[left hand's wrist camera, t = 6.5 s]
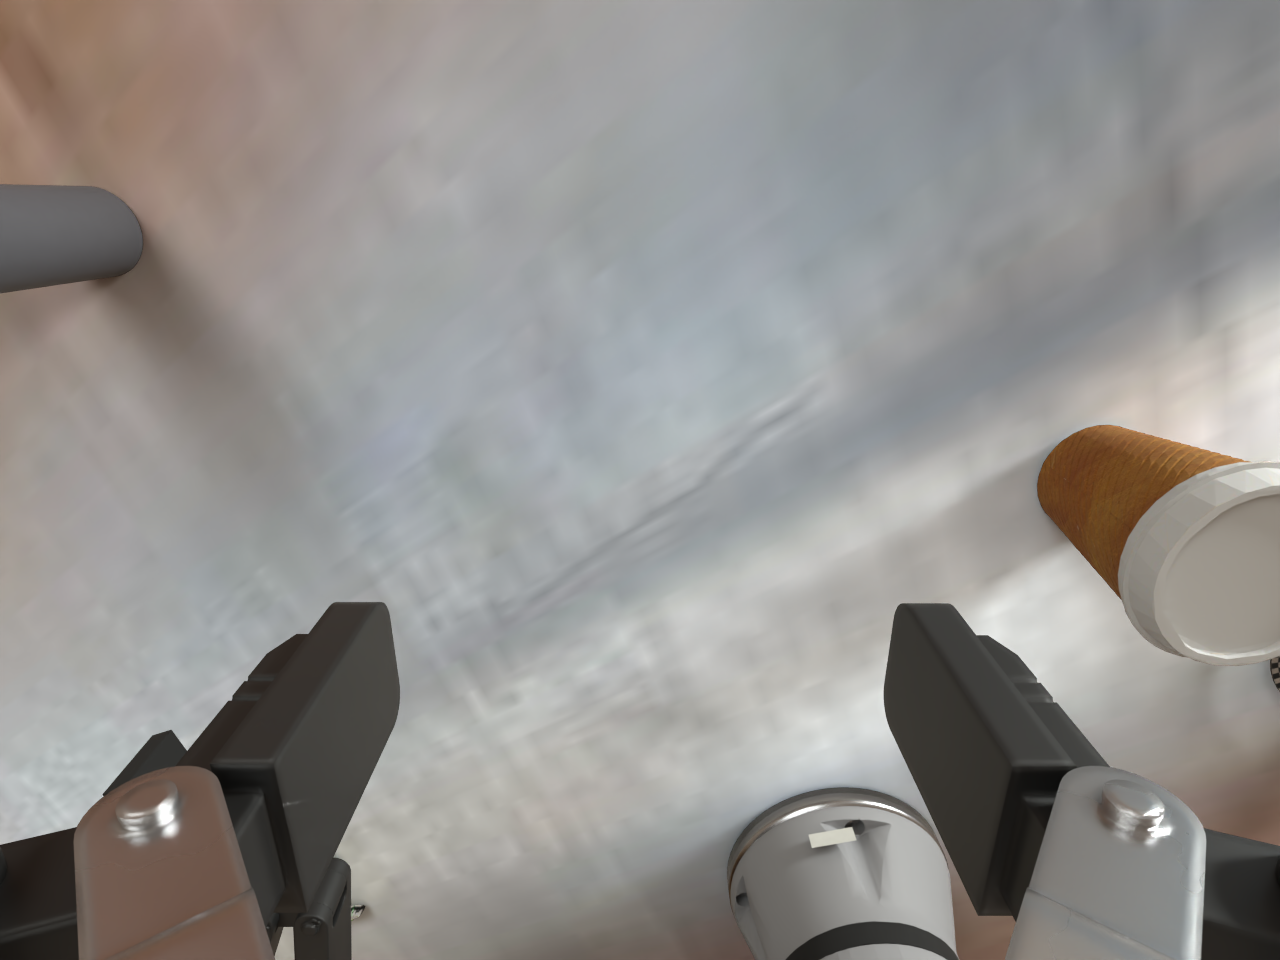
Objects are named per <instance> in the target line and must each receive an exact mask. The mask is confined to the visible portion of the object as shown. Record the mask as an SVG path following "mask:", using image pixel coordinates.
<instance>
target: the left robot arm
mask: <svg viewBox="0 0 1280 960" xmlns="http://www.w3.org/2000/svg"><path fill="white" fill-rule="evenodd" d="M399 701H400V685H399V677H398V670H397V663H396V656H395V649H394V642H393V635H392V628H391V621H390V615H389V611H388V608H387V606H386V605H385V604H384V603H382V602H335V603H333V604H331V605H330V606H329V608H328V609H327V610H326V612H325V613H324V614H323V616H322V617H321V618H320V619H319V621H318V622H317V623H316V625H315V626H314V627H313V629H312V630H311V631H310V633H309V634H296V635H294V636H293V637H291V638H290V639H288V640H287V641H285V642H284V643H282V644H281V645H279V646H278V647H276V648H275V649H273V650H272V651H270V652H269V653H267V654H266V656H265V657H264V658H263V659H262V660H261V662H260V663H259V664H258V665H257V667H256V668H255V669H254V670H253V671H252V673H251V674H250V675H249V676H248V681H244V682H243V684H242V685H241V686H240V687H239V689H238V690H237V691H236V692H235V693H234V695H233V699H232V701H228V702H227V703H226V704H225V706H224V707H223V708H222V709H221V711H220V712H219V713H218V714H217V715H216V717H215V718H214V719H213V720H212V722H211V723H210V724H209V725H208V726H207V728H206V729H205V730H204V731H203V733H202V734H201V735H200V736H199V737H198V739H197V740H196V741H195V742H194V744H193V745H192V746H191V747H190V748H189V750H188V751H187V752H186V753H185V755H184V756H183V757H182V758H181V759H180V761H179V762H178V763H177V764H176V766H175V767H169V768H164V769H160V770H156V771H153V772H150V773H147V774H144V775H141V776H139V777H137V778H134V779H132V780H130V781H128V782H126V783H124V784H122V785H120V786H119V787H117V788H116V789H114V790H112V791H111V792H109V793H108V794H107V795H105V796H104V797H103V798H101V799H100V800H99V801H98V802H97V803H96V804H94V805H93V806H92V807H91V808H90V809H89V810H88V812H87V813H86V814H85V815H84V816H83V818H82V819H81V821H80V823H79V824H78V826H77V827H75V828H71V829H67V830H63V831H58V832H54V833H50V834H46V835H41V836H37V837H33V838H28V839H24V840H20V841H15V842H11V843H7V844H2V845H0V960H275V958H274V954H273V951H272V948H271V944H270V941H269V938H268V935H267V931H266V926H267V924H268V922H269V920H270V918H271V916H272V914H273V913H307V912H308V910H309V908H310V906H311V904H312V902H313V900H314V897H315V895H316V893H317V891H318V889H319V887H320V884H321V882H322V880H323V878H324V876H325V874H326V872H327V869H328V867H329V865H330V863H331V861H332V859H333V857H334V854H335V852H336V850H337V848H338V846H339V844H340V842H341V839H342V837H343V835H344V833H345V831H346V829H347V826H348V824H349V822H350V820H351V818H352V816H353V814H354V811H355V809H356V807H357V805H358V803H359V801H360V799H361V796H362V794H363V792H364V790H365V788H366V786H367V784H368V781H369V779H370V777H371V775H372V773H373V771H374V768H375V766H376V764H377V762H378V760H379V758H380V756H381V753H382V751H383V749H384V747H385V745H386V743H387V741H388V738H389V736H390V734H391V732H392V730H393V728H394V725H395V722H396V719H397V715H398V710H399ZM884 706H885V713H886V718H887V722H888V725H889V727H890V730H891V732H892V734H893V736H894V738H895V740H896V742H897V745H898V747H899V749H900V751H901V753H902V755H903V757H904V759H905V762H906V764H907V766H908V768H909V770H910V772H911V774H912V776H913V779H914V781H915V783H916V785H917V787H918V789H919V791H920V793H921V796H922V798H923V800H924V802H925V804H926V806H927V808H928V810H929V812H930V815H931V817H932V819H933V821H934V823H935V825H936V827H937V829H938V832H939V834H940V836H941V838H942V840H943V842H944V844H945V846H946V849H947V851H948V853H949V855H950V857H951V859H952V861H953V863H954V866H955V868H956V870H957V872H958V874H959V876H960V878H961V880H962V883H963V885H964V887H965V889H966V891H967V893H968V895H969V897H970V900H971V902H972V904H973V906H974V908H975V910H976V912H977V914H978V916H1013V917H1014V919H1015V921H1016V925H1015V928H1014V931H1013V935H1012V938H1011V941H1010V944H1009V948H1008V951H1007V954H1006V958H1005V960H1280V846H1277V845H1273V844H1268V843H1264V842H1260V841H1255V840H1251V839H1247V838H1242V837H1238V836H1234V835H1229V834H1225V833H1221V832H1217V831H1213V830H1209V829H1205V828H1203V826H1202V824H1201V823H1200V821H1199V819H1198V818H1197V816H1196V815H1195V814H1194V813H1193V812H1192V810H1191V809H1190V808H1189V807H1188V806H1187V805H1186V804H1184V803H1183V802H1182V801H1181V800H1180V799H1179V798H1177V797H1176V796H1175V795H1173V794H1172V793H1171V792H1169V791H1168V790H1166V789H1164V788H1163V787H1161V786H1160V785H1158V784H1156V783H1154V782H1152V781H1150V780H1148V779H1146V778H1143V777H1141V776H1139V775H1136V774H1133V773H1130V772H1127V771H1124V770H1120V769H1116V768H1111V767H1110V766H1109V765H1108V764H1107V763H1106V762H1105V760H1104V759H1103V758H1102V757H1101V756H1100V754H1099V753H1098V752H1097V751H1096V750H1095V748H1094V747H1093V746H1092V745H1091V743H1090V742H1089V741H1088V740H1087V739H1086V737H1085V736H1084V735H1083V734H1082V733H1081V731H1080V730H1079V729H1078V728H1077V727H1076V725H1075V724H1074V723H1073V722H1072V720H1071V719H1070V718H1069V717H1068V716H1067V714H1066V713H1065V712H1064V711H1063V710H1062V708H1061V707H1060V706H1059V705H1058V704H1057V703H1053V697H1052V696H1051V695H1050V694H1049V693H1048V691H1047V690H1046V689H1045V688H1044V687H1043V685H1042V684H1041V683H1037V678H1036V677H1035V676H1034V674H1033V673H1032V672H1031V671H1030V670H1029V668H1028V667H1027V666H1026V665H1025V664H1024V662H1023V661H1022V660H1021V659H1020V658H1019V656H1018V655H1016V654H1015V653H1013V652H1012V651H1010V650H1009V649H1007V648H1006V647H1004V646H1003V645H1001V644H1000V643H998V642H997V641H995V640H994V639H992V638H991V637H989V636H988V635H975V633H974V632H973V631H972V629H971V628H970V627H969V625H968V624H967V623H966V622H965V620H964V619H963V618H962V616H961V615H960V614H959V612H958V611H957V610H956V609H955V607H954V606H953V605H951V604H900V605H899V606H898V607H897V609H896V612H895V615H894V621H893V628H892V635H891V642H890V649H889V656H888V662H887V669H886V676H885V683H884Z"/></svg>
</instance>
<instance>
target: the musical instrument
mask: <svg viewBox="0 0 1280 960" xmlns="http://www.w3.org/2000/svg"><path fill="white" fill-rule="evenodd" d="M1270 668H1271V674H1272V678H1273V681H1274V683H1275V685H1276V687H1277V689H1278V690H1279V691H1280V656H1278V657H1275V658H1272V659H1271V660H1270Z"/></svg>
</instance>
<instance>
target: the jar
mask: <svg viewBox="0 0 1280 960" xmlns="http://www.w3.org/2000/svg"><path fill="white" fill-rule="evenodd" d="M142 247H143V238H142V232H141V229H140V226H139V223H138V221H137V219H136V217H135V215H134V214H133V213H132V211H131V210H130V209H129V207H128V206H127V205H126V204H125V203H124V202H123V201H122V200H120V199H119V198H118V197H117V196H115V195H113V194H112V193H110V192H108V191H106V190H104V189H101V188H97V187H91V186H53V185H7V184H0V293H6V292H12V291H19V290H26V289H33V288H39V287H46V286H53V285H60V284H66V283H73V282H80V281H87V280H93V279H100V278H107V277H113V276H119V275H122V274H125V273H126V272H128V271H130V270H131V269H132V268H133V267H134V266H135V265H136V264H137V262H138V260H139V258H140V256H141V253H142Z"/></svg>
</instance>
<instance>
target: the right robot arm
mask: <svg viewBox="0 0 1280 960" xmlns="http://www.w3.org/2000/svg"><path fill="white" fill-rule="evenodd" d="M186 752H187V750H186V749H185V748H184V746H183V745H182V744H181V742H180V741H179V740H178V738H177V737H176V735H175V734H174V733H173V731H172V730H169V731H166V732H162V733H159V734H156V735H153V736H152V737H151V738H150V739H149V740H148V741H147V743H146V744H145V745H144V746H143V747H142V749H141V750H140V751H139V752H138V753H137V754H136V756H135V757H134V758H133V759H132V760H131V762H130V763H129V764H128V765H127V766H126V767H125V769H124V770H123V771H122V772H121V773H120V775H119V776H118V777H117V778H116V779H115V780H114V782H113V783H112V784H111V785H110V786H109V788H108V789H107V790H106V791H105V792H104V793H103V796H105V795H107V794H108V793H109V792H111V791H112V790H114V789H116V788H117V787H119V786H120V785H122V784H124V783H126V782H128V781H130V780H132V779H134V778H137V777H139V776H141V775H144V774H147V773H150V772H153V771H156V770H160V769H164V768H169V767H175V766H176V764H177V763H178V762H179V761H180V759H181V758H182V757H183V756H184V755H185V753H186ZM727 881H728V889H729V897H730V904H731V908H732V912H733V914H734V917H735V919H736V922H737V924H738V926H739V928H740V930H741V932H742V934H743V936H744V938H745V940H746V942H747V944H748V946H749V948H750V950H751V952H752V954H753V956H754V958H755V960H959V958H958V956H957V952H956V942H955V930H954V918H953V906H952V894H951V882H950V874H949V868H948V864H947V860H946V858H945V855H944V853H943V850H942V848H941V846H940V844H939V842H938V840H937V837H936V835H935V833H934V832H933V830H932V828H931V826H930V825H929V824H928V822H927V821H926V820H925V819H924V818H923V817H922V816H921V815H920V814H919V813H918V812H917V811H916V810H915V809H913V808H912V807H910V806H909V805H907V804H906V803H904V802H902V801H900V800H899V799H896V798H894V797H892V796H889V795H886V794H883V793H880V792H876V791H872V790H867V789H860V788H828V789H821V790H815V791H811V792H807V793H803V794H800V795H797V796H794V797H791V798H789V799H786V800H784V801H782V802H780V803H778V804H776V805H774V806H772V807H771V808H769V809H768V810H766V811H765V812H763V813H762V814H761V815H759V816H758V817H757V818H756V819H754V820H753V821H752V822H751V823H750V824H749V825H748V826H747V827H746V829H745V830H744V831H743V832H742V834H741V835H740V836H739V838H738V839H737V841H736V843H735V845H734V847H733V849H732V851H731V854H730V857H729V861H728V867H727ZM283 927H293V931H294V951H295V960H351V870H350V866H349V865H348V864H347V863H346V862H345V861H343V860H342V859H338V858H333V859H332V861H331V863H330V865H329V867H328V869H327V872H326V874H325V876H324V878H323V880H322V882H321V884H320V887H319V889H318V891H317V893H316V895H315V897H314V900H313V902H312V904H311V906H310V908H309V910H308V912H307V913H273V914H272V916H271V918H270V920H269V922H268V924H267V926H266V931H267V935H268V938H269V941H270V944H271V948H272V951H273V954H274V956H275V953H276V950H277V946H278V943H279V940H280V937H281V933H282V930H283Z"/></svg>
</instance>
